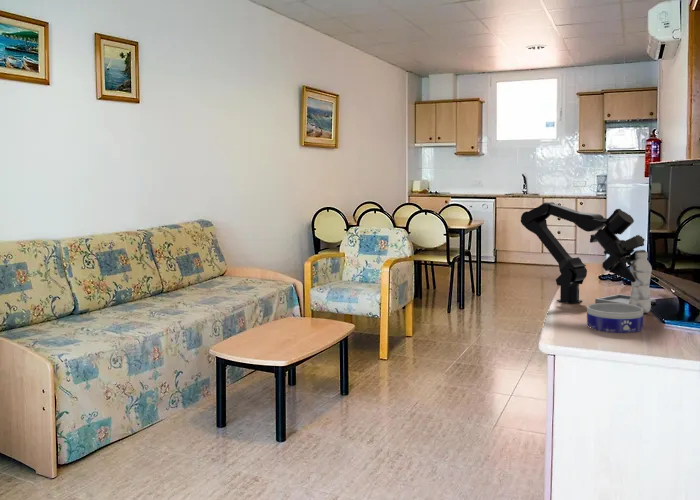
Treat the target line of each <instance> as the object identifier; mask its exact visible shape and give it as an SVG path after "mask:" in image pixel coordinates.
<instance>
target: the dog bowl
mask: <svg viewBox="0 0 700 500" xmlns="http://www.w3.org/2000/svg"><path fill="white" fill-rule="evenodd" d="M586 323H587V325H588V326H589V327H591V328H593V329H592V330H594V329H596V330H595V331H598V330H600V331H599V332H603V331H604V332H605V333H612V334H615V333H616V334H630V333H632V334H633V333H637V332H641V331H642V330H643V326H644V324H643V323H644V313H643V308H641V307H639V306H636V305H631V304H623V303H591V304H588V305H587V306H586ZM588 326H587V327H588ZM589 327H588V328H589ZM591 328H590V329H591Z"/></svg>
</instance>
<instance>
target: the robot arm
mask: <svg viewBox="0 0 700 500" xmlns="http://www.w3.org/2000/svg"><path fill="white" fill-rule="evenodd" d="M550 216H554V217H555V218H558V219H561V220H565V221H568V222H571V223H573V224H575V225H576V226H577V227H578V228H580V229H581V230H583V231H585V232H588V233H589V232H595V233H594V234H590V239H589V243H590V244H593V243H598V244H599V246H601V247H602V248H603V250H604V251H603V254H604V255H609V256H608V257H607V258H606V259H605V260H604V261H603V262H602V266H601V267H602V269H603V270H604V271H605V272H609V273H612V274H613V275H617V276H619V277H621V278H623V279H625V280H627V281H629V282H630V283H631V282H635V281H636V279H635V278H634V276H633V275H632V273H631V272H630V268H629V267H631V264H632V263H633V262H634V260H635V259H636V258H635V252H636V251H645V252H647V251H646V250H645V249H637V248H639V247H644V246H645V244H644V243H645V241H646V239H645V238H643V236H642V235H640V234H637V235H635V236H632V237H631V238H628V239H619V237H618V236H617V235H623V233H625V232H626V230H627V229H629V227H631V226H632V225H633V223H634V222H635V220H634V218H633V216H631V214H629V213H627V212H625V211H623V210H622V209H621V208H616V209H615V210H614V211H613V213H611V215H610V216H609V217H608V218H606V217H604V215H602V214H601V213H600V214H599V213H594V212H593V213H591V212H582V211H578V210H575V209H572V208H570V207H566V206H563V205H560V204H558V203H555V202H553V201H550V202H549V201H548V202H544V203H542V204H541V205H538V206H537V207H535V208H532V209H530V210H528V211H524V212H523V213H522V214H521V216H520V223H521V225H522V226H523V227H524V228H525V229H527V231H529V232H531V233H533V234H535V236H537V238H538V239H539V241H540V242H541V243H542V244H543V246H544V247H545V248H546V249H547V251H548V252H549V254H551V256H552V258H554V260H555V261H556V262H557V264H558V268H559V269H558V270H559V272H560V275H559V276H558V277H557V278H556V279H555V282H556V285H557V286H560V288H559V289H560V294H559V297H560V298H559V299H556V302H560V303H565V304H569V305H570V304H572V305H573V304H576V303H577V304H578V303H581V302H583V299H580V285H583V283H584V281H585V279H586V277H587V274H588V269H587V267H586V264H585V263H584V262H582V261H583V260H582V259H581V258H580V257H578V256H577V257H572V256H571V255H570V254H569V253H568V252H567V250H566V249H565V248H564V247H563V245H562V244H561V243H560V242H559V240H558V239H557V238H556V237H555V235H554V233H553V232H552V231H551V230H550V228H548V223H547V219H548V218H550ZM635 249H637V250H635ZM647 256H649V253H648V252H647ZM628 266H629V267H628ZM651 278H652V276H651V277H650V279H651Z"/></svg>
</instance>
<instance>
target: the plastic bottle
mask: <svg viewBox="0 0 700 500" xmlns="http://www.w3.org/2000/svg"><path fill="white" fill-rule="evenodd" d="M635 251H636V250H635ZM635 251H634V252H635ZM645 251H646V250H645ZM645 251H636V252H635V258H636V259H635V260H634V262H633V263H632V264H631V266H629V270H630V272H631V273H632V275H633V276H634V278H635V279H636V281H635V282H631V281H630V283H631V290H630V296H631V298H630V301H629V304H631V305H636V306H639V307H641V308H643V314H646V313H647V314H648V313H649V312H650V311H651V307H652V305H651V302H650V299H651V297H650V294H651V293H650V283H651V278H652V272H653V270H652V269H653V268H652V265H651V263H650V262H649V260H648V258H649V257H648V256H649V255H648V256H647V253H648V251H646V252H645ZM650 277H651V278H650Z"/></svg>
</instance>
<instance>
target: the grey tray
mask: <svg viewBox="0 0 700 500" xmlns="http://www.w3.org/2000/svg"><path fill="white" fill-rule="evenodd" d="M630 298H631V295H629V294H628V295H627V294H621V293H618V294H614V295H608V296H602V297H598V298H595V299H594V300H595V303H594V304H596V303H623V304H629V301H630ZM650 302H657V300H656V299H654V298H650Z"/></svg>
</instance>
